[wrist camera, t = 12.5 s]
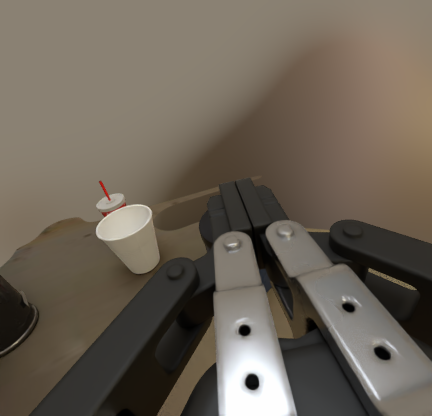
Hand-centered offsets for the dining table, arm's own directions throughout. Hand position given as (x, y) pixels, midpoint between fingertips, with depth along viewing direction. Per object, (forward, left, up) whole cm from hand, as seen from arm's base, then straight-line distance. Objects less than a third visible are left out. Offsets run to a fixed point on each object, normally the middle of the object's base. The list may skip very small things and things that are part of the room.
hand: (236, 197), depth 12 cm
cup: (-13, +29, -28) cm, 42 cm away
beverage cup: (-17, +42, -28) cm, 53 cm away
